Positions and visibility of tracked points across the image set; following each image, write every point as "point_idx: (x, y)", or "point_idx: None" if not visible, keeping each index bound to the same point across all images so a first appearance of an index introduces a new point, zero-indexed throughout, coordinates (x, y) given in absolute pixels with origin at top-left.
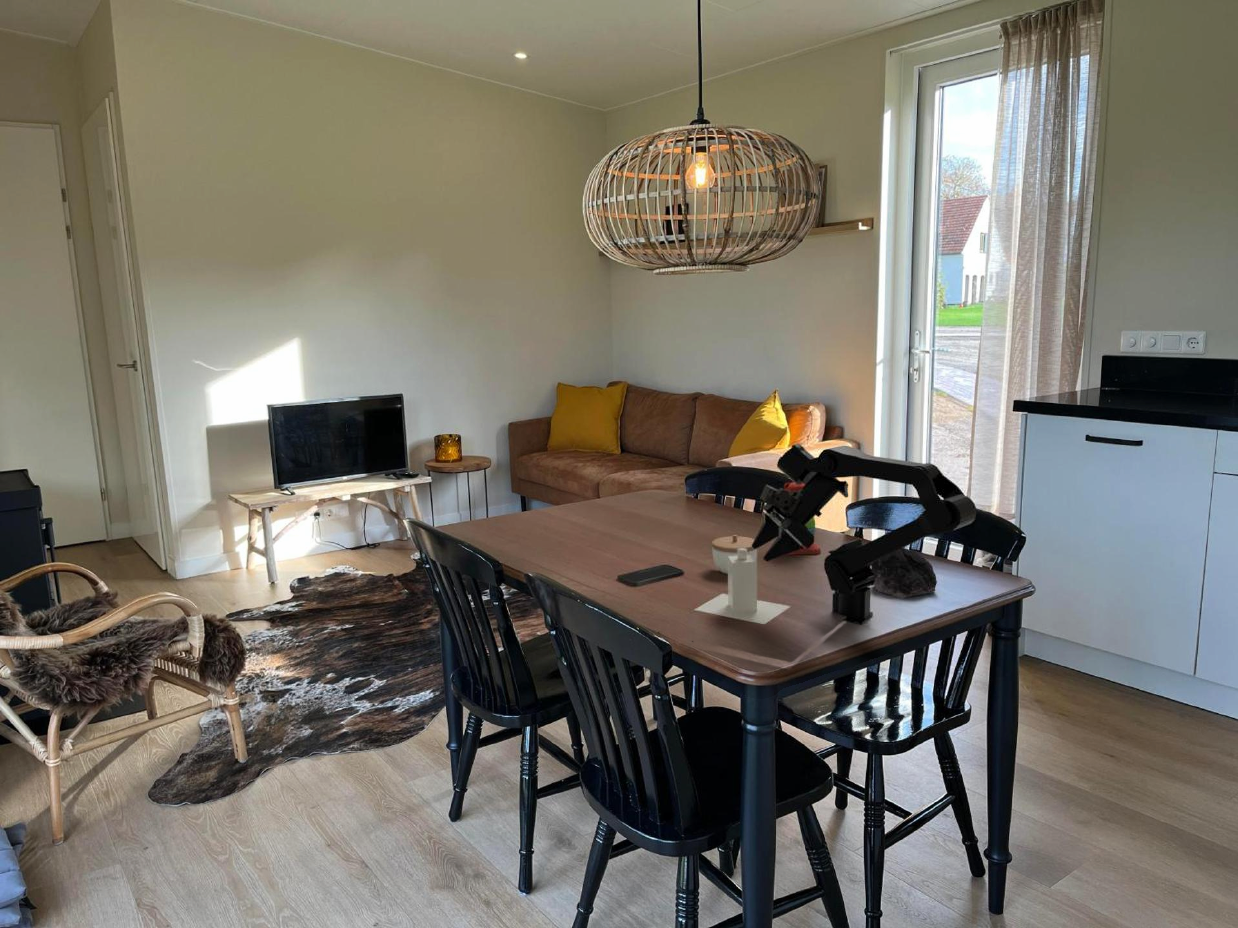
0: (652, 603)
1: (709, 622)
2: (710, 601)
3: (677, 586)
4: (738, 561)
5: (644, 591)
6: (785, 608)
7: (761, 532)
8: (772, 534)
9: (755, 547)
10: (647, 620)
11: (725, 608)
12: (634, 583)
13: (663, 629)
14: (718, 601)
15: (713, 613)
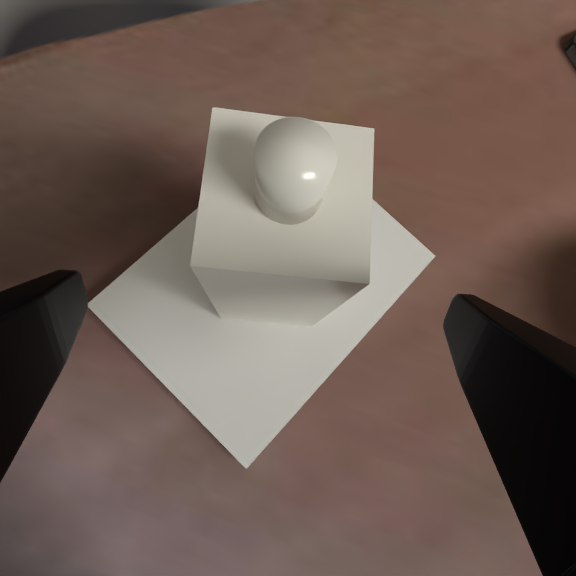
0: (408, 54)
1: None
2: None
3: (555, 157)
4: (237, 152)
5: (516, 59)
6: (227, 438)
7: (567, 387)
8: (565, 538)
9: (449, 325)
10: (270, 10)
11: None
12: (573, 39)
13: (188, 30)
14: None
15: None
